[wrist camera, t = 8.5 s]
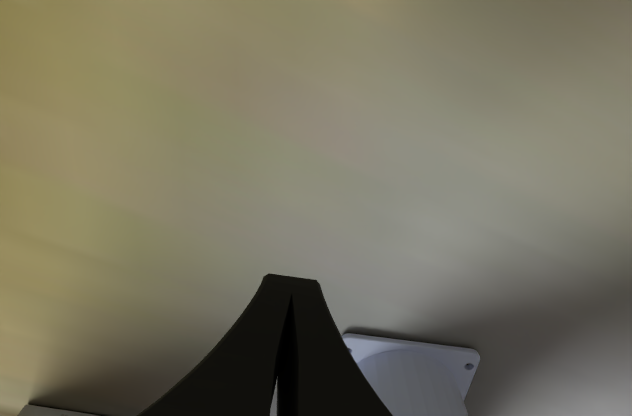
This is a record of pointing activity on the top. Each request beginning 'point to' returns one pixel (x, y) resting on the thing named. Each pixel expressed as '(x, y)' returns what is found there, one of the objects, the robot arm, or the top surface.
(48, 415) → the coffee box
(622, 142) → the top surface
